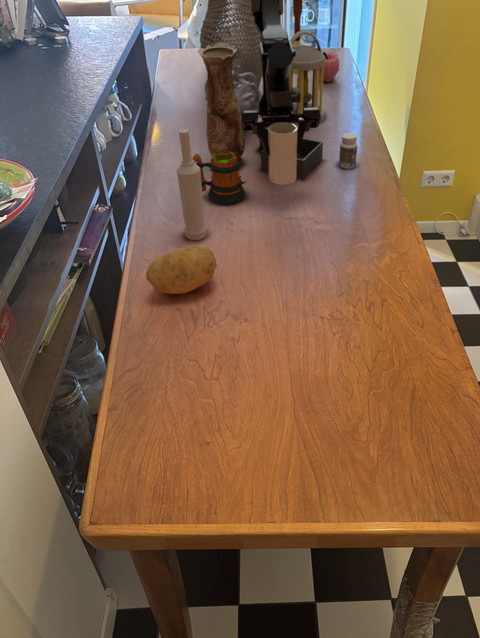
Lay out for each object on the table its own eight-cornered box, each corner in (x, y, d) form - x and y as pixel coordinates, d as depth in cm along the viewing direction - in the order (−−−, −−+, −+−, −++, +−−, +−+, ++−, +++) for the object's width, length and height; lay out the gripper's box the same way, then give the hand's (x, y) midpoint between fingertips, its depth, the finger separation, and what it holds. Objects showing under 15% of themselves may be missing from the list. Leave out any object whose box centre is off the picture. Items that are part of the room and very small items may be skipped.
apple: (338, 85, 215) (340, 55, 208) (314, 85, 215) (315, 55, 208) (337, 76, 222) (339, 46, 215) (313, 76, 222) (314, 46, 215)
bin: (260, 170, 168) (260, 151, 164) (281, 152, 176) (281, 133, 172) (303, 180, 164) (303, 160, 160) (322, 160, 172) (323, 141, 168)
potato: (219, 299, 126) (216, 260, 119) (149, 304, 125) (142, 265, 118) (217, 271, 133) (214, 233, 126) (151, 276, 132) (144, 238, 125)
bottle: (210, 231, 145) (200, 127, 128) (201, 242, 142) (189, 137, 124) (190, 227, 146) (178, 124, 129) (181, 238, 143) (167, 133, 125)
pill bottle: (354, 169, 168) (357, 140, 162) (337, 168, 169) (339, 138, 163) (356, 162, 171) (359, 132, 165) (340, 160, 172) (342, 131, 166)
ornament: (199, 137, 184) (192, 69, 170) (226, 113, 197) (221, 48, 184) (252, 145, 179) (250, 76, 166) (276, 120, 193) (276, 54, 179)
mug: (246, 186, 161) (244, 144, 153) (246, 205, 154) (244, 162, 146) (197, 187, 161) (192, 145, 153) (195, 206, 153) (190, 163, 145)
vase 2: (253, 163, 171) (249, 48, 150) (226, 176, 165) (217, 58, 144) (228, 152, 176) (220, 39, 155) (201, 164, 171) (189, 49, 150)
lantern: (314, 106, 201) (317, 22, 184) (330, 122, 192) (335, 35, 174) (274, 111, 198) (273, 26, 181) (288, 128, 188) (288, 40, 171)
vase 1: (281, 92, 211) (281, -26, 186) (245, 113, 197) (239, -11, 173) (229, 80, 219) (223, -34, 195) (191, 99, 206) (179, -21, 181)
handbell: (302, 74, 223) (303, -4, 206) (274, 68, 228) (273, -8, 211) (318, 65, 231) (321, -11, 213) (291, 59, 235) (292, -15, 218)
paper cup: (264, 181, 149) (263, 131, 140) (276, 169, 153) (276, 120, 144) (289, 186, 147) (289, 136, 138) (300, 175, 151) (301, 125, 142)
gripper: (239, 74, 136) (244, 144, 136) (321, 71, 137) (326, 140, 137) (239, 97, 147) (244, 161, 147) (315, 94, 148) (320, 157, 148)
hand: (283, 155), depth 144 cm, fingers closed on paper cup, 7 cm apart
